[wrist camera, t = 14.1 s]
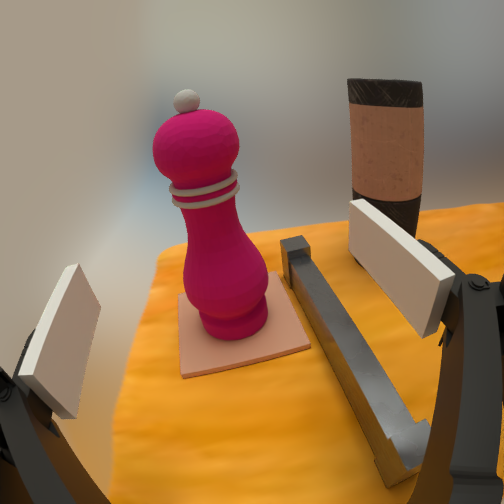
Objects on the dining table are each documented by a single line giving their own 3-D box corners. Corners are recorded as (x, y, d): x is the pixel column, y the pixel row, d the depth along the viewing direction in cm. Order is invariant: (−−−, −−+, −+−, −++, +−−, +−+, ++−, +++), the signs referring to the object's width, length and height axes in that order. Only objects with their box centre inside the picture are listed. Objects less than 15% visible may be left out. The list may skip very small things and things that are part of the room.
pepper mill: (266, 286, 31) (234, 81, 21) (280, 336, 25) (243, 77, 15) (198, 299, 31) (144, 100, 20) (197, 351, 25) (117, 106, 14)
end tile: (310, 347, 24) (310, 343, 24) (183, 378, 23) (180, 374, 23) (276, 275, 34) (276, 270, 33) (179, 298, 32) (178, 294, 32)
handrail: (418, 472, 13) (444, 450, 11) (386, 488, 13) (407, 471, 10) (304, 270, 34) (301, 235, 31) (283, 275, 33) (279, 240, 31)
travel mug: (391, 284, 29) (400, 80, 18) (338, 257, 35) (329, 79, 24) (423, 254, 32) (434, 83, 22) (374, 233, 38) (372, 78, 27)
